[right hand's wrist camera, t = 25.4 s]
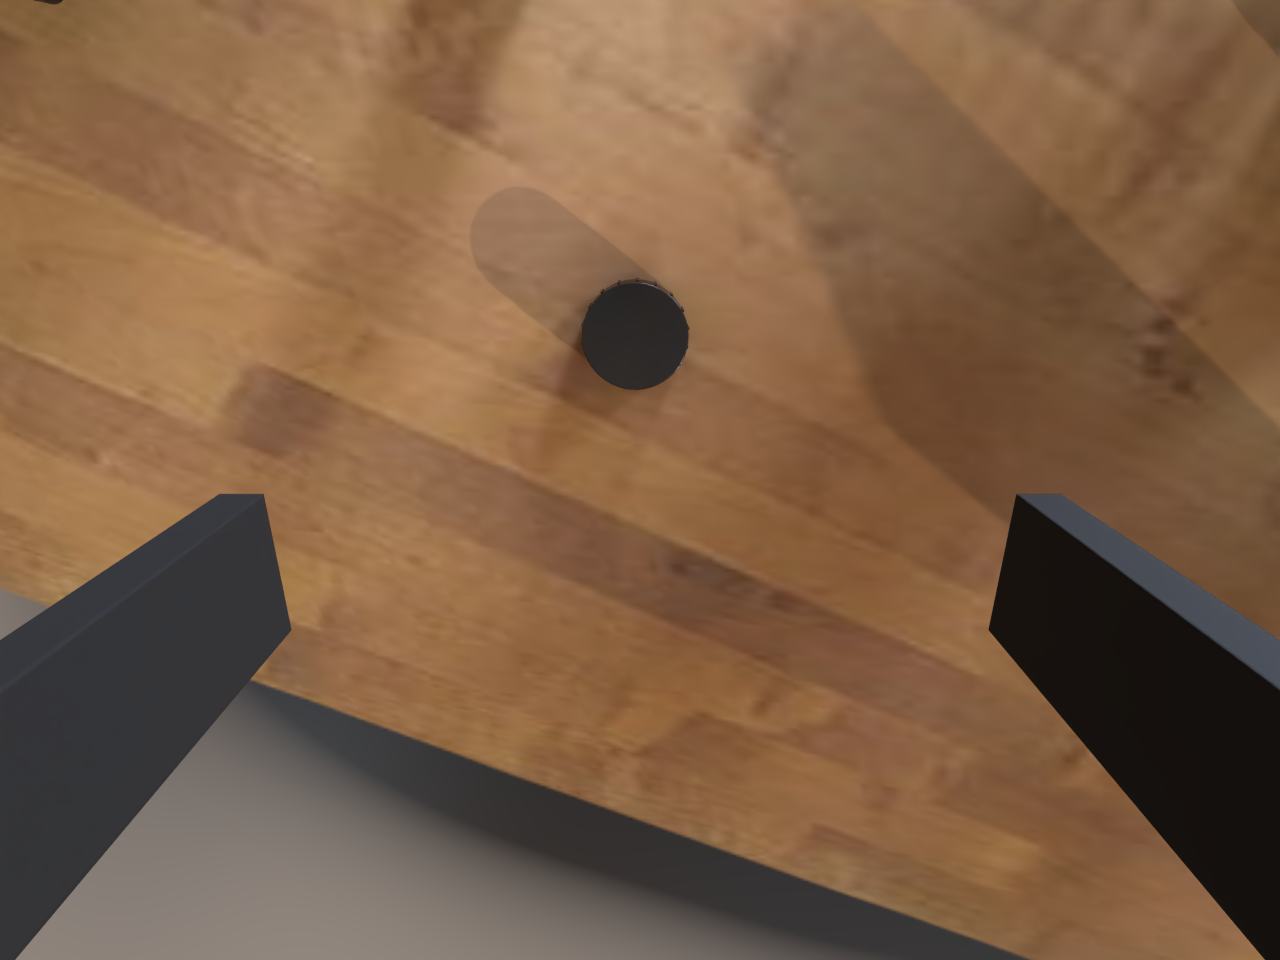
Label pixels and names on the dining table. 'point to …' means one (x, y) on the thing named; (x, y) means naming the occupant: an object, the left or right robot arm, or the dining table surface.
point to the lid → (635, 334)
